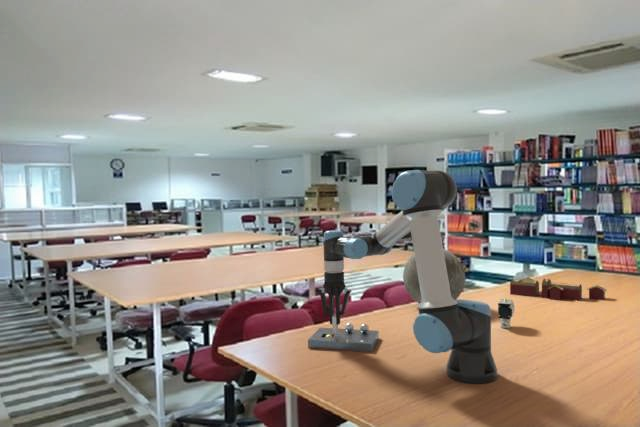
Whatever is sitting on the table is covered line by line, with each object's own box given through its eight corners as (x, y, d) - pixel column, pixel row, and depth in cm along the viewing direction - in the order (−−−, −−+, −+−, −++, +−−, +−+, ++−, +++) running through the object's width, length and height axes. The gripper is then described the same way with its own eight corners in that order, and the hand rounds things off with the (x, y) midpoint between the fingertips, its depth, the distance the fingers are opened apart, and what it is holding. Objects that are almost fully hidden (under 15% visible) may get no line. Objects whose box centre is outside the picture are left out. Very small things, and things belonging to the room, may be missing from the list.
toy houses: (508, 295, 265) (508, 277, 264) (518, 289, 281) (518, 272, 281) (603, 305, 238) (603, 285, 238) (607, 297, 255) (607, 278, 254)
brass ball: (333, 339, 183) (326, 334, 184) (328, 346, 184) (321, 340, 184) (335, 337, 186) (328, 331, 187) (330, 343, 187) (324, 338, 188)
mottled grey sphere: (391, 307, 243) (390, 247, 242) (428, 297, 262) (427, 243, 261) (440, 317, 220) (440, 252, 219) (477, 306, 239) (476, 246, 238)
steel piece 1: (352, 333, 188) (352, 324, 188) (344, 332, 189) (344, 324, 189) (354, 330, 191) (354, 322, 191) (346, 330, 192) (345, 321, 192)
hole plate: (371, 352, 174) (371, 343, 174) (308, 347, 181) (307, 339, 180) (378, 338, 190) (378, 330, 190) (320, 334, 197) (320, 327, 197)
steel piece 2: (368, 334, 186) (367, 325, 186) (359, 333, 187) (359, 324, 187) (369, 331, 190) (369, 323, 189) (361, 331, 190) (360, 322, 190)
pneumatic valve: (497, 330, 198) (497, 301, 198) (501, 323, 208) (501, 295, 208) (512, 331, 196) (512, 302, 195) (515, 324, 206) (515, 296, 205)
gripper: (352, 270, 185) (353, 330, 186) (320, 269, 189) (321, 329, 190) (348, 273, 178) (349, 336, 179) (314, 272, 182) (316, 334, 182)
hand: (335, 332), depth 184 cm, fingers closed
